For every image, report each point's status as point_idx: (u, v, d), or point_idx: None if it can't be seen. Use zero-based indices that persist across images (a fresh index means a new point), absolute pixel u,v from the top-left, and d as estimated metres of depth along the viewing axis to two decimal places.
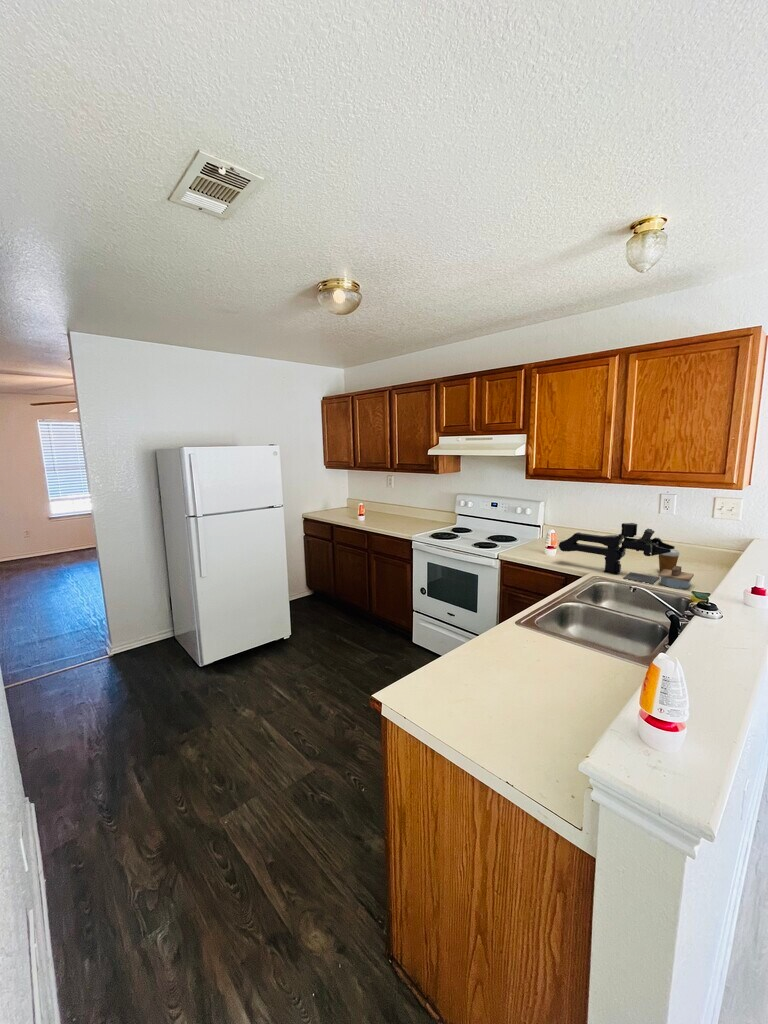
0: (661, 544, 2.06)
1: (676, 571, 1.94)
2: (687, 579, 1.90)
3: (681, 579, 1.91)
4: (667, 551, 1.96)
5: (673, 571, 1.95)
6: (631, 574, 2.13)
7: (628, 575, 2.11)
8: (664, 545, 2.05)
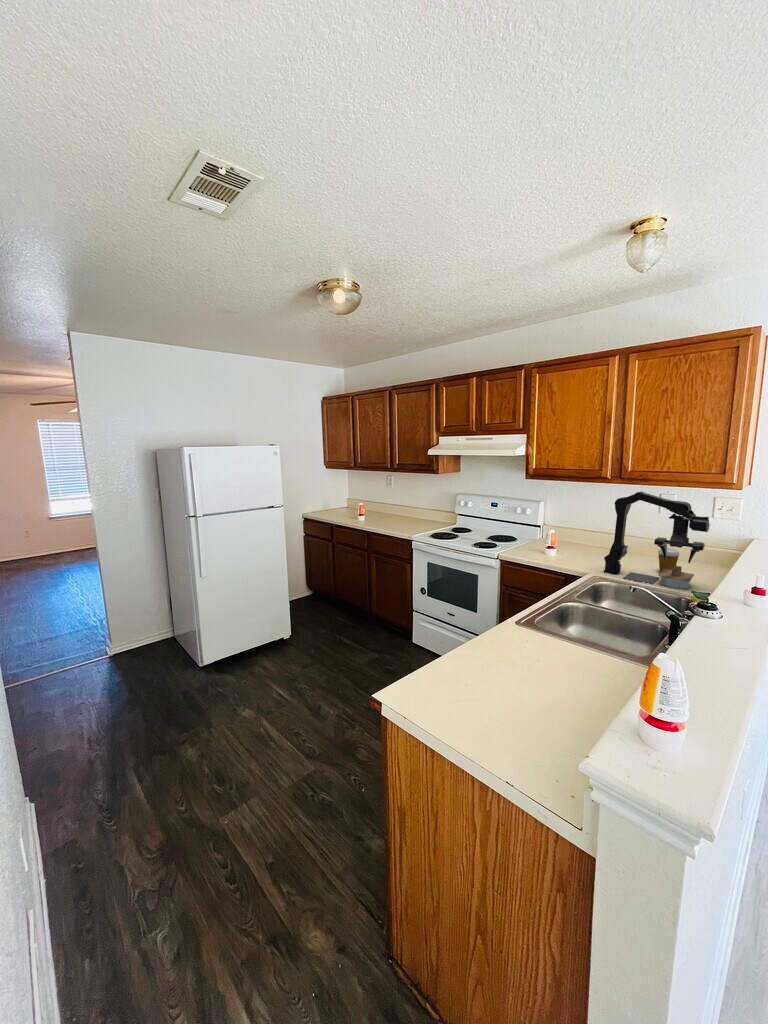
0: None
1: (676, 571, 1.94)
2: (687, 579, 1.89)
3: (681, 579, 1.91)
4: None
5: (673, 571, 1.95)
6: (631, 574, 2.13)
7: (628, 575, 2.11)
8: (690, 554, 1.92)
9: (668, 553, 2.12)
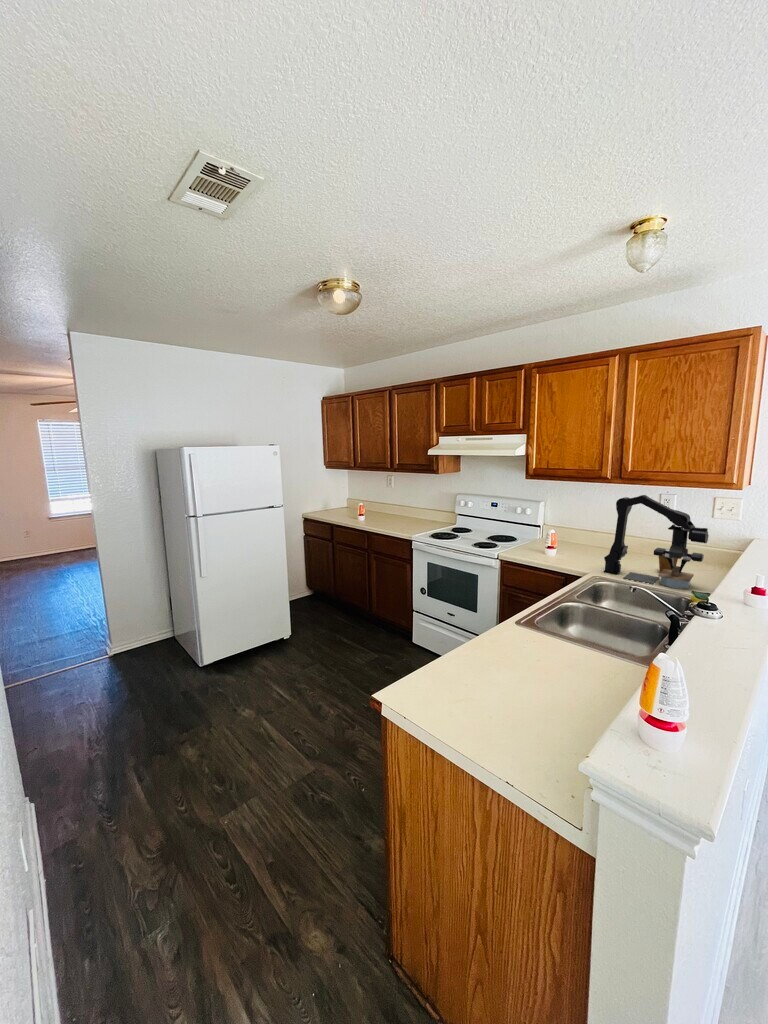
0: None
1: (676, 571, 1.94)
2: (687, 579, 1.90)
3: (681, 579, 1.91)
4: None
5: (673, 571, 1.95)
6: (631, 574, 2.13)
7: (628, 575, 2.11)
8: (681, 564, 1.95)
9: None
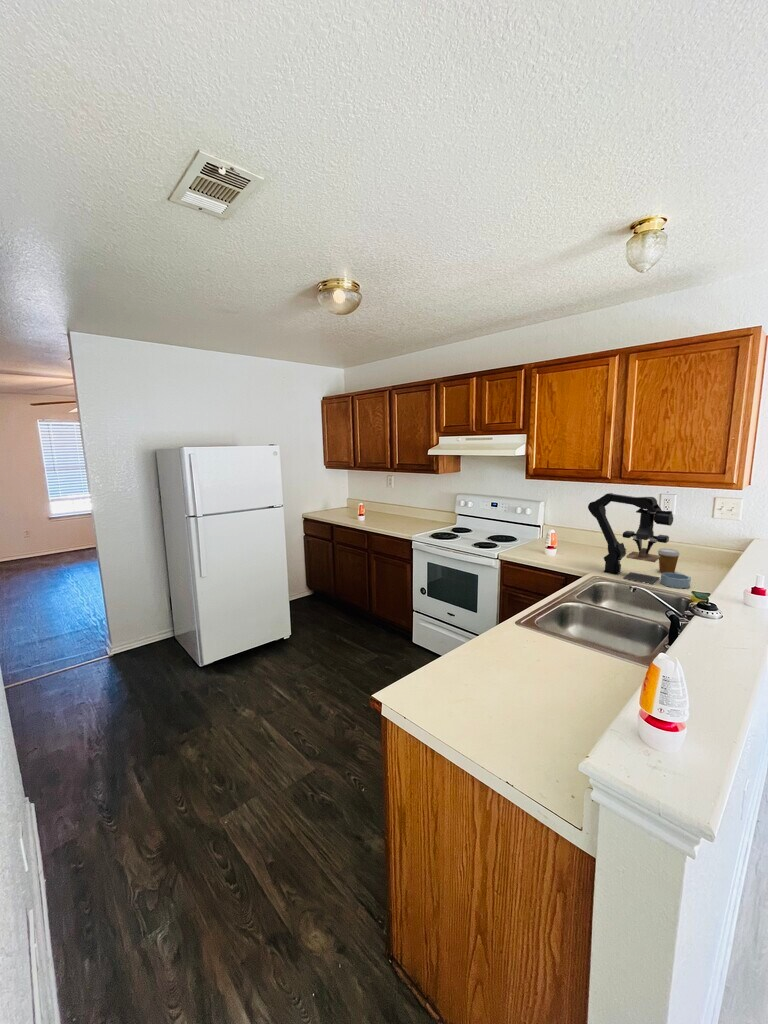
0: None
1: (643, 552, 2.02)
2: (652, 560, 1.98)
3: (647, 560, 2.00)
4: None
5: (640, 552, 2.03)
6: (631, 574, 2.13)
7: (628, 575, 2.11)
8: (648, 546, 2.04)
9: (668, 553, 2.12)
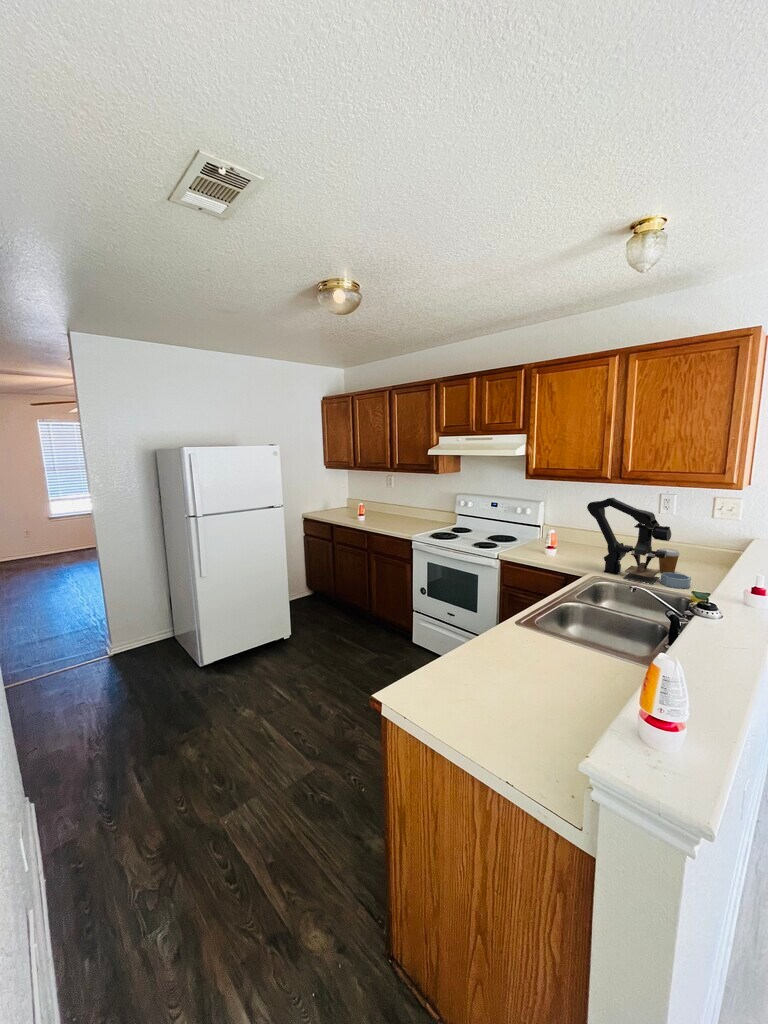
0: None
1: (641, 567, 2.04)
2: (651, 575, 1.99)
3: (645, 575, 2.01)
4: None
5: (638, 567, 2.05)
6: (631, 574, 2.13)
7: (628, 575, 2.11)
8: (646, 560, 2.05)
9: (668, 553, 2.12)
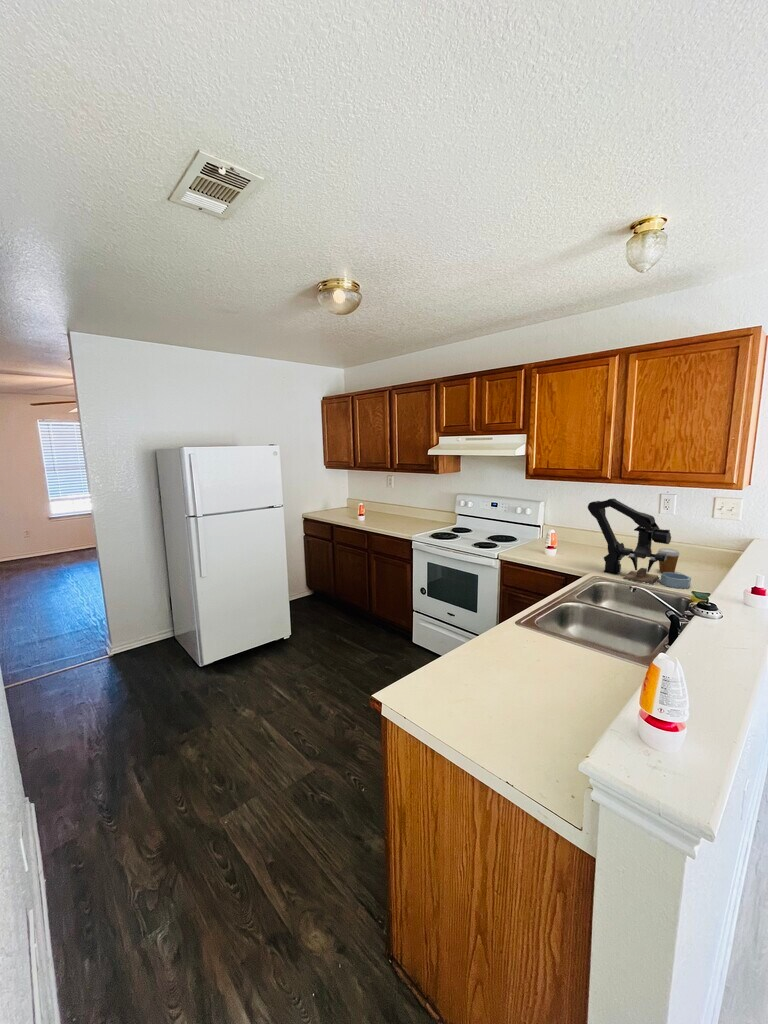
0: None
1: (641, 573, 2.04)
2: (650, 580, 2.00)
3: (645, 580, 2.01)
4: None
5: (638, 573, 2.05)
6: None
7: None
8: None
9: (668, 553, 2.12)
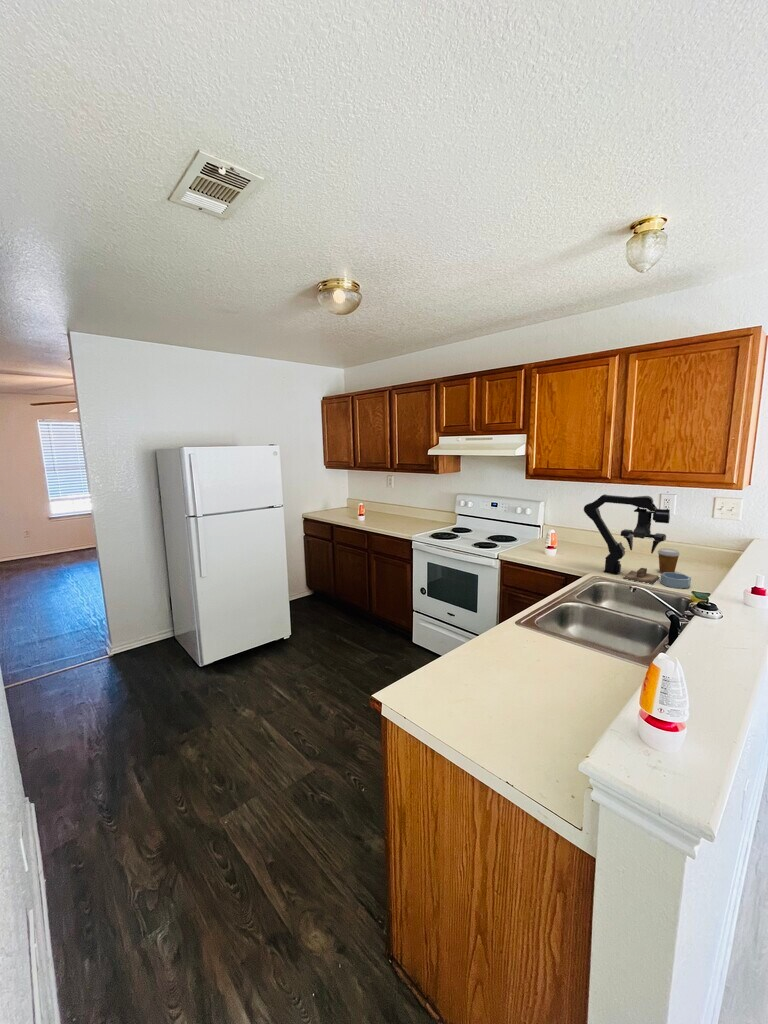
0: None
1: (641, 573, 2.04)
2: (650, 580, 2.00)
3: (645, 580, 2.01)
4: None
5: (638, 573, 2.05)
6: None
7: None
8: None
9: (668, 553, 2.12)
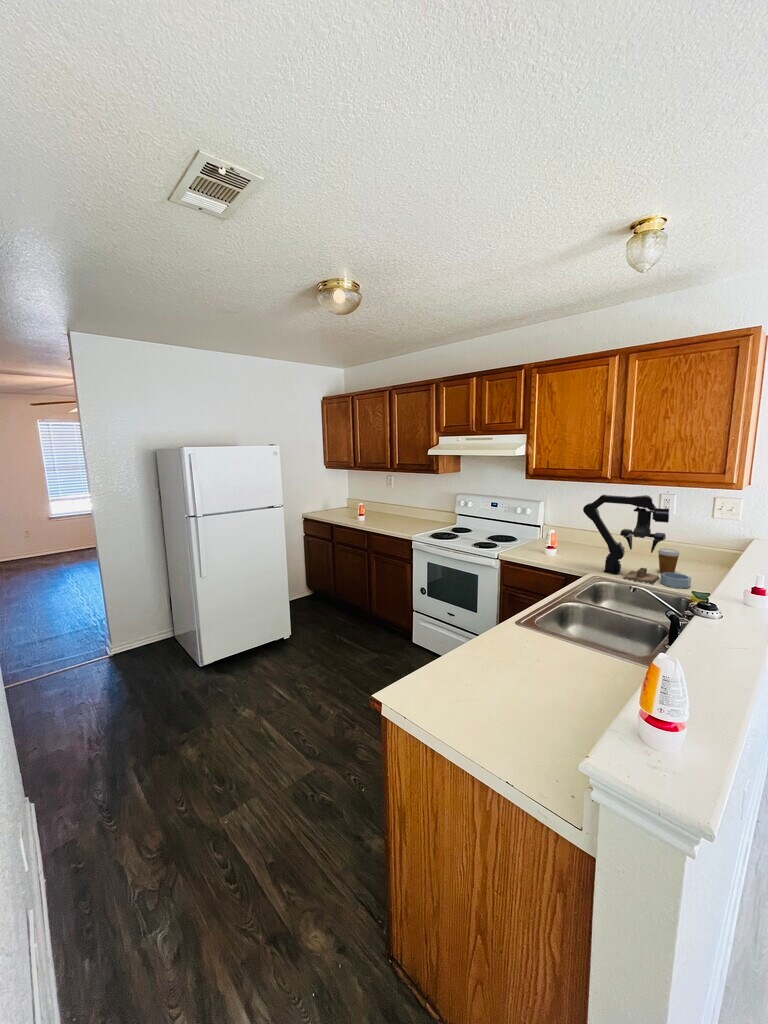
0: (653, 542, 2.05)
1: (641, 573, 2.04)
2: (650, 580, 2.00)
3: (645, 580, 2.01)
4: None
5: (638, 573, 2.05)
6: None
7: None
8: None
9: (668, 553, 2.12)
